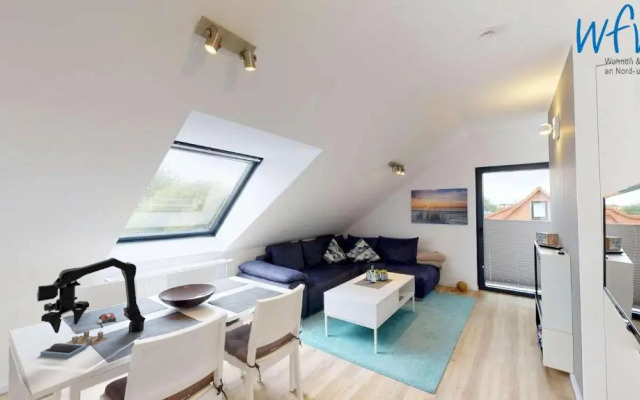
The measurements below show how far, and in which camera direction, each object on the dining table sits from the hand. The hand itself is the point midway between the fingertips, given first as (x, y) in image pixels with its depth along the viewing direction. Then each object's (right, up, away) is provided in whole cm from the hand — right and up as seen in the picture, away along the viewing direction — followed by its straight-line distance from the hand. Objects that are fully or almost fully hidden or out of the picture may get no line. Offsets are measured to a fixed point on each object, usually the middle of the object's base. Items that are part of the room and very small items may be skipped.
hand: (66, 328), depth 136 cm
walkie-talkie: (-6, -13, +34) cm, 37 cm away
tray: (0, -12, -1) cm, 12 cm away
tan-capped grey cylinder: (0, -11, -1) cm, 11 cm away
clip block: (+2, -12, +10) cm, 16 cm away
